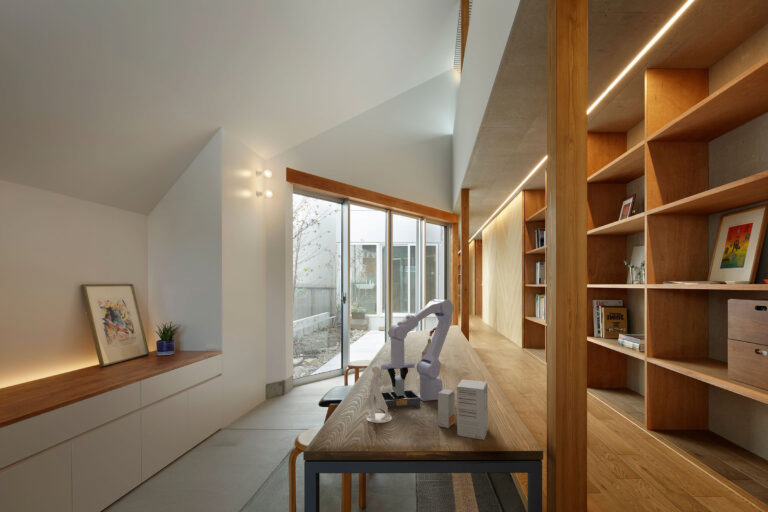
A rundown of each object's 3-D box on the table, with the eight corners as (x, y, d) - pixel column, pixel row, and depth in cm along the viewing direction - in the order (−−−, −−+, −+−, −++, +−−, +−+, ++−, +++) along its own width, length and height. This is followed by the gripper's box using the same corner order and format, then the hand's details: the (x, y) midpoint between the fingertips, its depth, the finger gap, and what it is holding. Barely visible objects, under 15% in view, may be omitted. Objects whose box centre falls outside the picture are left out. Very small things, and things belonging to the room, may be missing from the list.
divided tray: (411, 398, 175) (411, 389, 175) (420, 406, 164) (420, 397, 164) (376, 401, 171) (376, 392, 171) (383, 410, 160) (382, 400, 160)
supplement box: (462, 425, 144) (461, 378, 145) (488, 429, 141) (487, 381, 141) (456, 435, 135) (456, 385, 136) (484, 440, 132) (483, 388, 132)
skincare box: (448, 428, 141) (448, 394, 142) (437, 426, 144) (437, 392, 144) (455, 422, 147) (454, 390, 147) (444, 420, 149) (444, 388, 149)
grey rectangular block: (399, 389, 172) (399, 375, 172) (404, 395, 164) (404, 380, 164) (392, 389, 171) (392, 375, 171) (397, 395, 163) (397, 381, 163)
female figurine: (352, 412, 158) (352, 361, 159) (392, 412, 157) (392, 361, 158) (348, 422, 148) (348, 368, 148) (391, 423, 147) (391, 368, 147)
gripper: (383, 356, 163) (383, 390, 162) (416, 354, 166) (417, 387, 166) (379, 353, 170) (379, 385, 169) (411, 351, 173) (411, 382, 173)
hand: (397, 386), depth 168 cm, fingers closed on grey rectangular block, 3 cm apart
